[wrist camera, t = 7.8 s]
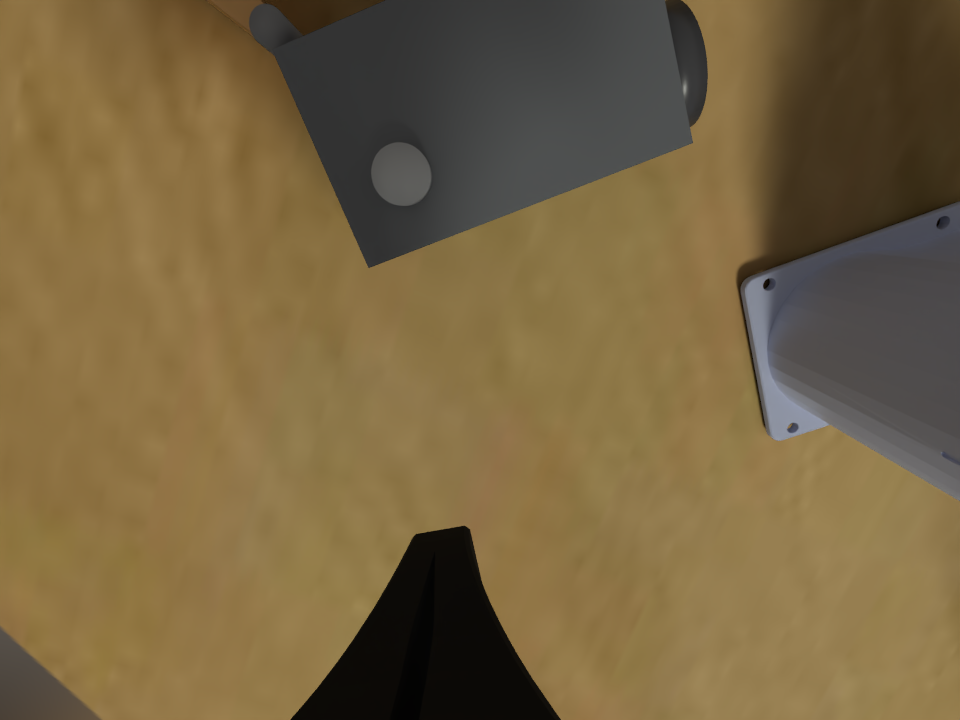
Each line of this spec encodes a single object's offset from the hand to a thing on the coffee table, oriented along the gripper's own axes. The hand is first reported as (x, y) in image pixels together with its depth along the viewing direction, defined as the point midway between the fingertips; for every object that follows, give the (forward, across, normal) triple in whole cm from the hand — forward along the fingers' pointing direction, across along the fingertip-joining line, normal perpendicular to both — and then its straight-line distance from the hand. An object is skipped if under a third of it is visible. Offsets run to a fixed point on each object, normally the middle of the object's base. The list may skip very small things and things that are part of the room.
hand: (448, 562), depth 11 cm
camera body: (+10, -3, -11) cm, 15 cm away
